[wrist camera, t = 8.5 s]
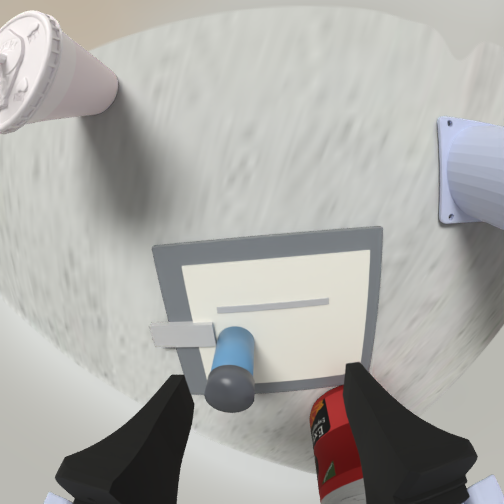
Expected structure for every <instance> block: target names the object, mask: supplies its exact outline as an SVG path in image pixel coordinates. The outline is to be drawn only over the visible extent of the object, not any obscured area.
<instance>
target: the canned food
mask: <svg viewBox="0 0 504 504" xmlns="http://www.w3.org/2000/svg"><path fill="white" fill-rule="evenodd" d="M343 387H344V385H341V386H338V387H336V388H333V389H332V390H330V391H328V392H326V393H325V394H323V395H322V396H321V397H320V398H319V399H318V400H317V401H316V402H315V403H314V405H313V407H312V410H311V413H310V427H311V434H312V442H313V449H314V456H315V464H316V472H317V480H318V487H319V495H320V502H321V504H366V496H365V487H364V480H363V474H362V468H361V462H360V457H359V453H358V449H357V446H356V443H355V440H354V437H353V434H352V431H351V427H350V424H349V421H348V418H347V415H346V410H345V405H344V400H343Z"/></svg>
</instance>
